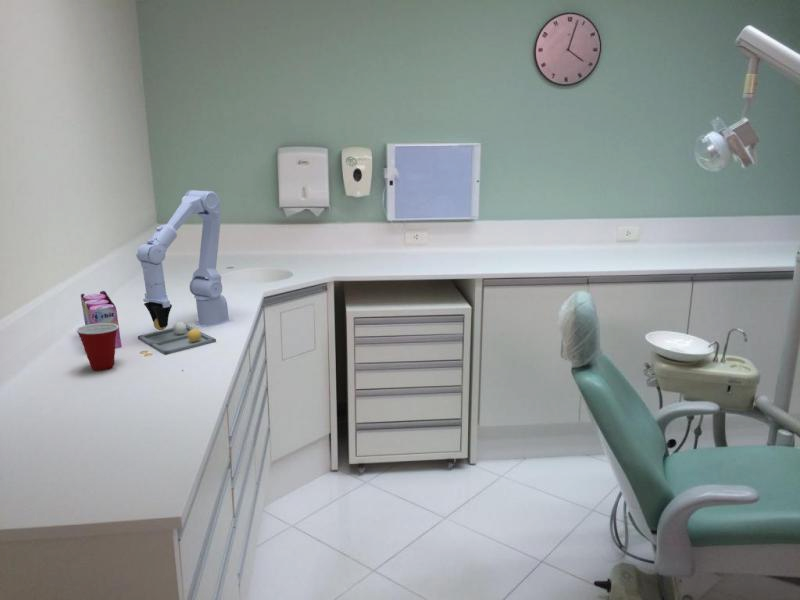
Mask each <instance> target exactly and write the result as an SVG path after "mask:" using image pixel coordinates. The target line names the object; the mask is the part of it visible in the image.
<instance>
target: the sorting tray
mask: <svg viewBox="0 0 800 600" xmlns="http://www.w3.org/2000/svg"><path fill="white" fill-rule="evenodd" d="M185 325H186V331H185V333H183V334H180V335H179V334H176V333H175V332H174V330H173V327H171V328H168V329H167V328H165V329H163V330H157V331H154V332H149V333H146V334H145V333H144V334H142V335H137V339H138V340H139V341H141V342H143V343H144V344H146V345H148V346H149V347H151V348H152V349H154V350H156V351H157V352H159V353H160V354H162V355H165V356H167V355H171V354H176V353H179V352H183V351H187V350H191V349H195V348H198V347H202V346H206V345H210V344H214V343H217V338H214V337H212V336H210V335H209V334H207V333H204V332H202V331H200V333H201V338H200V340H199V341H197V342H192V341H190V340H189V339H188V336H187V335H188V332H189V331H190V330H192V329H195V328H194V327H192V326H190V325H188V324H185Z"/></svg>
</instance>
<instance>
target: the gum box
mask: <svg viewBox="0 0 800 600" xmlns="http://www.w3.org/2000/svg"><path fill="white" fill-rule="evenodd" d="M80 301H81V306H82V314H83V320H84V326H85V325H90V324H100V323H110V324H116V325H118V326H119V325H120V324H119V319H118V318H119V317H118V312H117V306H116V305H115V303H114V302H113V301H112V300H111V298H110V297H109V295H108V293H107V292H106V291H105V290H100V292H99V293H90V294H85V293H80ZM120 333H121V332H120V326H119V328H118V329H117V333H116V339H115V349H120V348H122V347H123V346H122V341H121V340H122V339H121V334H120Z"/></svg>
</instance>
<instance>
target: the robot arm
mask: <svg viewBox="0 0 800 600" xmlns="http://www.w3.org/2000/svg"><path fill="white" fill-rule="evenodd" d="M220 205H221V199H220V197H219V196H218V195H217V194H216V192H215V191H212V190H195V189H191V190H188V191H187V192H186V193H185V194H184V196H183V197H181V203H180V204H179V206H178V207H177V209H176V210H175V212H174V213H173V215H172V216H171V217H170V219H169V220H168V222H167V223H166V224H161V225H159V226H157V227H156V231H155V232H154V234H153V235H151V236H150V238H149V239H147V242H146V243H144V244H141V245H140V246H139V247H138V250H137V254H135V256H136V259H137V260H138V262H140V265H141V267H142V273H143V281H144V286H145V293H144V298H143V299H142V300H143V302H144V303H143V305H144V307H145V308H146V310H147V311H148V313H149V316H150V317H151V320H152V322H153V324H154V321H155V319H156V318H157V319H158V323H159V326H160V328H163V327H166V328H167V327H168V324H169V323H168V322H169V316H170V313H171V309H172V307H173V305H172V304H171V301H170V300H169V297H168V295H167V291H166V290H167V289H166V288H167V287H166V282H165V274H164V267H163V261H164V260H165V258H166V252H167V251H168V249H169V247H170V246H171V245H172V243H173V242H175V240H176V239H177V235H178V234H177V233H178V232H177V231H178V230H179V229H180V227H182V226H183V224H185V222H186V221H187V220H188V219H189V218H190V217H191V216H192V215H193V214H197V215H198V217H200V219H201V220H202V227H201V228H202V230H201V240H200V248H199V249H200V250H199V261H198V268H197V269H196V270H194V272H193V274H192V278H191V281H190V282H189V292H190V293H191V295H193V296H194V299H195V304H196V311H197V313H196V314H197V321H194V322H193V323H194V324H196V325H197V326H199V327H201V328H208V327H212V326H216V325H221V324H224V323H225V324H226V323H229V322H230V321H231V320H230V319H229V318H230V317H229V309H228V303H227V302H228V301H227V298H225V296H224V295H222V292H223V283H222V276H221V274H220V273H219V272H218V271H217V262H218V252H219V241H220V230H221V222H222V221H221V220H222V214H221V209H220Z"/></svg>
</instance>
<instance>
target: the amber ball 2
mask: <svg viewBox="0 0 800 600" xmlns="http://www.w3.org/2000/svg"><path fill="white" fill-rule="evenodd" d="M200 332H201V331H200V330H198V329H197V328H194V329H192V330H190V331H189V332H188V335H187V336H188V339H189V340H190V341H192V342H197V341H199V340H200V338H201V333H200Z"/></svg>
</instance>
